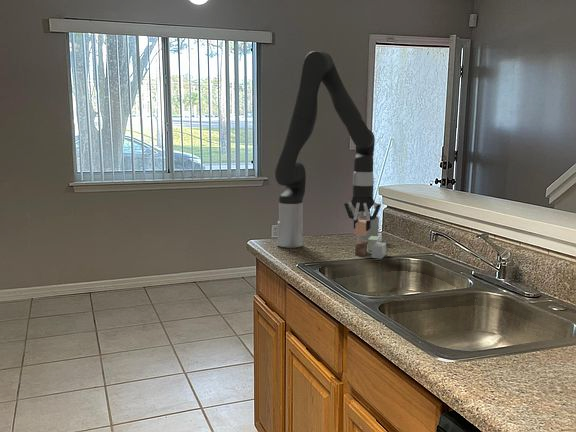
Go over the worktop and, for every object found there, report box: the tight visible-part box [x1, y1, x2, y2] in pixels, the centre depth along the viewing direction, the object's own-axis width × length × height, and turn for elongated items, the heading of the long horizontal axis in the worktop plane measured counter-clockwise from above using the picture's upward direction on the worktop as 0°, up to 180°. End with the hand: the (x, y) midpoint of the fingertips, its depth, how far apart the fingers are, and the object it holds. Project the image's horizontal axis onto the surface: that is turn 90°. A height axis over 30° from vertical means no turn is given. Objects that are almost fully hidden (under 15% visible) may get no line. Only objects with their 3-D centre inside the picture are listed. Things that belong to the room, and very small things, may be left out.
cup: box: [357, 215, 380, 244], centre depth 230 cm, size 8×8×10 cm
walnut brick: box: [354, 239, 368, 257], centre depth 208 cm, size 4×7×4 cm, turn 165°
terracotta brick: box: [354, 220, 369, 237], centre depth 206 cm, size 4×7×4 cm, turn 161°
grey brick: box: [371, 241, 387, 260], centre depth 204 cm, size 4×7×4 cm, turn 158°
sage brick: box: [367, 235, 381, 252], centre depth 215 cm, size 4×7×4 cm, turn 162°
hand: (362, 230), depth 207 cm, fingers closed on terracotta brick, 3 cm apart
